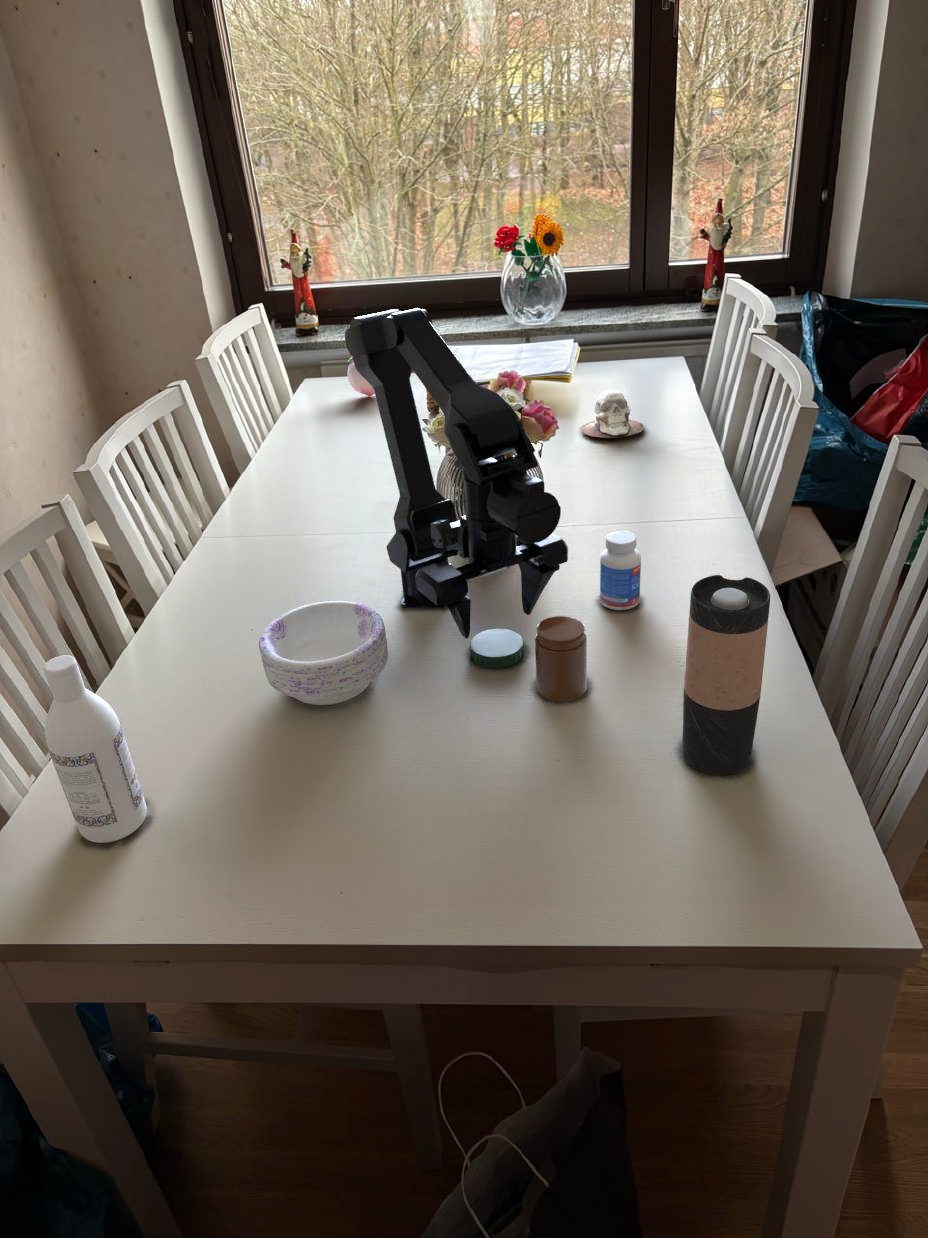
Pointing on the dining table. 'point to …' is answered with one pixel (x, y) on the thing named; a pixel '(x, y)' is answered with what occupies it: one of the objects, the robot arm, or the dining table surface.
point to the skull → (612, 417)
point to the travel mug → (723, 672)
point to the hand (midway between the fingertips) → (496, 625)
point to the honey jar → (561, 658)
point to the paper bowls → (324, 651)
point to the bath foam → (91, 757)
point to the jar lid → (497, 648)
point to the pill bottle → (620, 571)
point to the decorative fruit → (358, 380)
